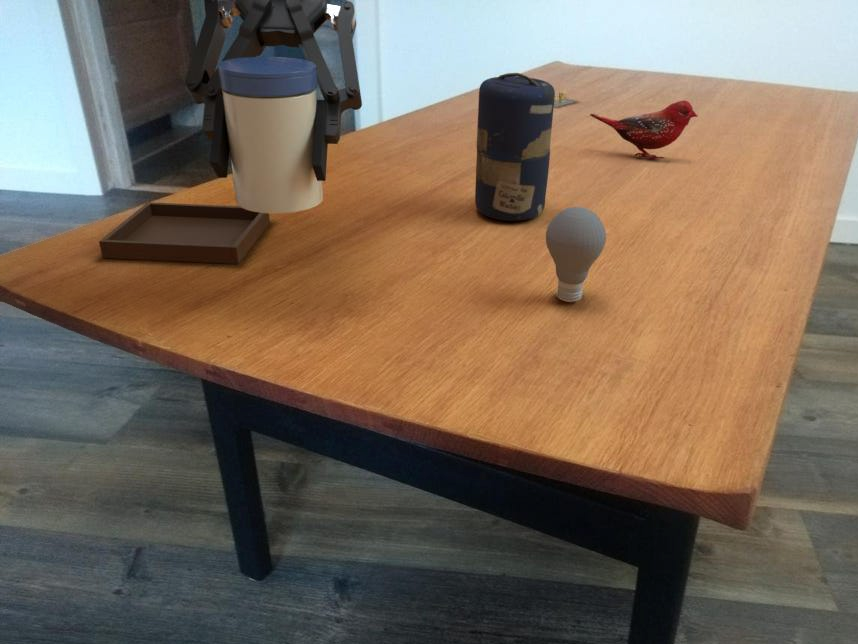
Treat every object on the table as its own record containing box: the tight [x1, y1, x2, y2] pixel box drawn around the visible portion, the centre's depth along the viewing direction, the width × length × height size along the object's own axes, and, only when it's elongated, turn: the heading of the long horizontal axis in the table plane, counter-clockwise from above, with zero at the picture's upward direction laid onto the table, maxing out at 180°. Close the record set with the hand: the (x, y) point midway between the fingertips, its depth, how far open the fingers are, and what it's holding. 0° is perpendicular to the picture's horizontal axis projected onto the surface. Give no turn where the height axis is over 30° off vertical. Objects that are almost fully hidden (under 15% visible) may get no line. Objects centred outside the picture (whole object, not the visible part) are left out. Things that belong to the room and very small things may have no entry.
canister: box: [474, 72, 556, 222], centre depth 96 cm, size 10×10×18 cm
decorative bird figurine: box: [589, 100, 698, 160], centre depth 125 cm, size 3×18×10 cm, turn 70°
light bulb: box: [545, 206, 607, 303], centre depth 76 cm, size 6×6×10 cm
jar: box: [222, 88, 324, 215], centre depth 68 cm, size 8×8×12 cm
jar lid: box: [217, 56, 318, 96], centre depth 65 cm, size 8×8×2 cm
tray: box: [98, 201, 271, 265], centre depth 88 cm, size 15×13×2 cm
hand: (268, 171), depth 66 cm, fingers closed on jar, 8 cm apart
